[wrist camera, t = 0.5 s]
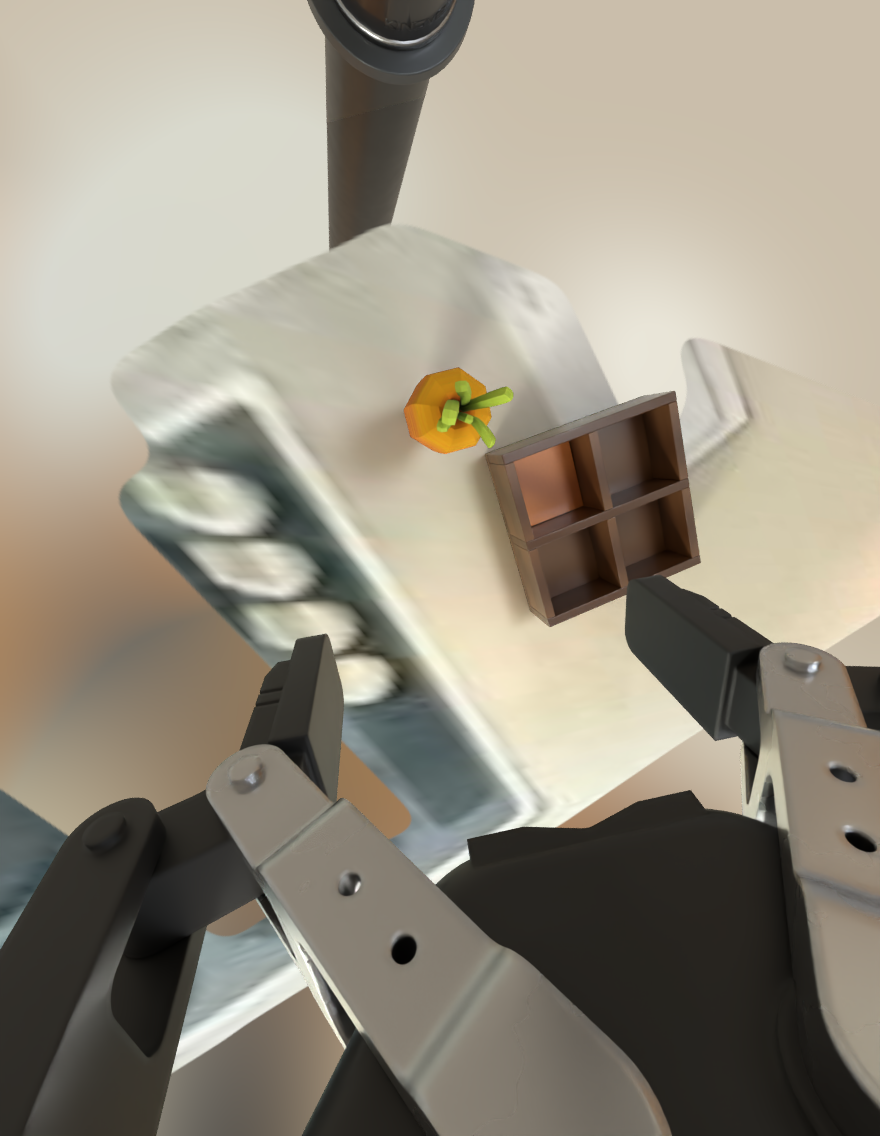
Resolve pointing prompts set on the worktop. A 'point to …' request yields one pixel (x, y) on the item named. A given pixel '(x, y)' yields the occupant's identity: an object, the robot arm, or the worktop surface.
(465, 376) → the carrot
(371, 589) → the worktop surface
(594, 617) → the worktop surface
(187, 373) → the worktop surface
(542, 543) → the grid
